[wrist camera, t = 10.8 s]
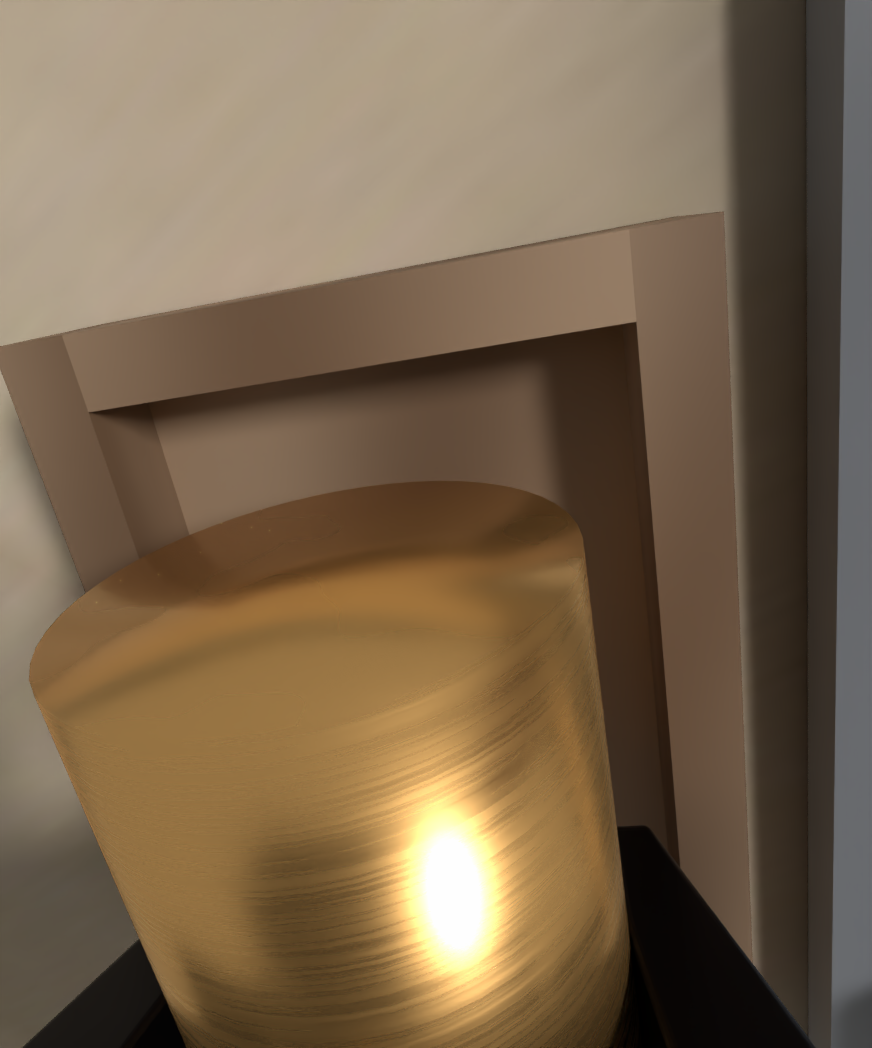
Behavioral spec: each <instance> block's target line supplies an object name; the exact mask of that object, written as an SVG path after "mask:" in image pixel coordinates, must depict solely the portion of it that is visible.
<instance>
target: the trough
mask: <svg viewBox="0 0 872 1048" xmlns="http://www.w3.org/2000/svg"><path fill="white" fill-rule="evenodd" d="M0 370H1V372H2V375H3V378H4V380H5V383H6V385H7V388H8V391H9V393H10V396H11V399H12V401H13V404H14V406H15V409H16V412H17V414H18V417H19V420H20V422H21V425H22V427H23V430H24V433H25V435H26V438H27V441H28V443H29V446H30V448H31V451H32V454H33V456H34V459H35V461H36V464H37V467H38V469H39V472H40V475H41V477H42V480H43V482H44V485H45V488H46V490H47V493H48V496H49V498H50V501H51V503H52V506H53V509H54V511H55V514H56V517H57V519H58V522H59V524H60V527H61V530H62V532H63V535H64V538H65V540H66V543H67V545H68V548H69V551H70V553H71V556H72V559H73V561H74V564H75V566H76V569H77V572H78V574H79V577H80V580H81V582H82V585H83V587H84V590H85V593H87V592H88V591H89V590H91V589H92V588H93V587H95V586H96V585H97V584H99V583H100V582H102V581H103V580H105V579H107V578H108V577H110V576H111V575H113V574H114V573H116V572H117V571H119V570H121V569H122V568H124V567H126V566H128V565H130V564H131V563H133V562H135V561H137V560H138V559H140V558H142V557H144V556H146V555H148V554H150V553H152V552H154V551H156V550H158V549H160V548H162V547H164V546H166V545H168V544H171V543H173V542H175V541H177V540H179V539H182V538H184V537H186V536H188V535H191V534H193V533H196V532H198V531H201V530H203V529H206V528H209V527H211V526H214V525H216V524H219V523H222V522H225V521H228V520H230V519H233V518H236V517H239V516H242V515H245V514H249V513H252V512H255V511H258V510H261V509H265V508H268V507H272V506H276V505H279V504H283V503H287V502H290V501H294V500H299V499H303V498H307V497H311V496H316V495H321V494H326V493H331V492H336V491H341V490H347V489H353V488H360V487H366V486H374V485H382V484H391V483H403V482H416V481H467V482H479V483H489V484H495V485H502V486H508V487H512V488H516V489H520V490H524V491H527V492H530V493H533V494H536V495H539V496H542V497H544V498H546V499H547V500H549V501H551V502H553V503H555V504H557V505H558V506H560V507H561V508H562V509H564V510H565V511H566V512H567V513H569V514H570V516H571V517H572V518H573V519H574V521H575V522H576V523H577V524H578V527H579V529H580V532H581V534H582V537H583V543H584V552H585V560H586V569H587V577H588V586H589V594H590V603H591V611H592V620H593V628H594V637H595V645H596V654H597V662H598V671H599V679H600V688H601V696H602V705H603V713H604V722H605V730H606V739H607V747H608V756H609V764H610V773H611V781H612V790H613V798H614V807H615V815H616V824H617V826H634V825H645V826H647V827H649V828H650V829H651V830H652V831H653V832H654V834H655V835H656V836H657V838H658V839H659V840H660V842H661V843H662V844H663V846H664V847H665V848H666V850H667V851H668V852H669V854H670V855H671V856H672V857H673V859H674V860H675V861H676V863H677V864H678V865H679V867H680V868H681V869H682V871H683V872H684V873H685V875H686V876H687V877H688V879H689V880H690V881H691V883H692V884H693V885H694V887H695V888H696V889H697V891H698V892H699V893H700V895H701V896H702V897H703V899H704V900H705V901H706V902H707V904H708V905H709V906H710V908H711V909H712V910H713V912H714V913H715V914H716V916H717V917H718V918H719V920H720V921H721V922H722V924H723V925H724V926H725V928H726V929H727V930H728V932H729V933H730V934H731V936H732V937H733V938H734V940H735V941H736V942H737V944H738V945H739V946H740V947H741V949H742V950H743V951H744V953H745V954H746V955H747V957H748V958H749V959H750V961H751V962H752V963H753V959H752V933H751V906H750V880H749V854H748V828H747V802H746V776H745V750H744V724H743V698H742V672H741V646H740V619H739V593H738V567H737V541H736V515H735V489H734V463H733V437H732V411H731V385H730V359H729V332H728V306H727V280H726V254H725V228H724V212H715V213H705V214H696V215H686V216H677V217H671V218H666V219H661V220H655V221H650V222H645V223H639V224H634V225H629V226H623V227H618V228H613V229H607V230H602V231H597V232H591V233H586V234H581V235H575V236H570V237H565V238H559V239H554V240H549V241H543V242H538V243H533V244H527V245H522V246H517V247H511V248H506V249H501V250H495V251H490V252H485V253H479V254H474V255H469V256H463V257H458V258H453V259H447V260H442V261H437V262H431V263H426V264H421V265H415V266H410V267H405V268H399V269H394V270H389V271H383V272H378V273H373V274H367V275H362V276H357V277H351V278H346V279H341V280H335V281H330V282H325V283H319V284H314V285H309V286H303V287H298V288H293V289H287V290H282V291H277V292H271V293H266V294H261V295H255V296H250V297H245V298H239V299H234V300H229V301H223V302H218V303H213V304H207V305H202V306H197V307H191V308H186V309H181V310H175V311H170V312H165V313H159V314H154V315H149V316H143V317H138V318H133V319H127V320H122V321H117V322H111V323H106V324H101V325H97V326H92V327H87V328H83V329H78V330H74V331H69V332H64V333H60V334H55V335H50V336H46V337H41V338H37V339H32V340H27V341H23V342H18V343H14V344H9V345H4V346H0Z"/></svg>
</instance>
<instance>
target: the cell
mask: <svg viewBox="0 0 872 1048" xmlns="http://www.w3.org/2000/svg"><path fill="white" fill-rule="evenodd" d="M29 681H30V684H31V687H32V690H33V693H34V696H35V698H36V701H37V703H38V705H39V708H40V710H41V712H42V715H43V717H44V719H45V722H46V724H47V726H48V728H49V731H50V733H51V735H52V738H53V740H54V742H55V745H56V747H57V749H58V752H59V754H60V756H61V759H62V761H63V763H64V765H65V768H66V770H67V772H68V775H69V777H70V779H71V782H72V784H73V786H74V789H75V791H76V793H77V796H78V798H79V800H80V802H81V805H82V807H83V809H84V812H85V814H86V816H87V819H88V821H89V823H90V826H91V828H92V830H93V832H94V835H95V837H96V839H97V842H98V844H99V846H100V849H101V851H102V853H103V856H104V858H105V860H106V863H107V865H108V867H109V869H110V872H111V874H112V876H113V879H114V881H115V883H116V886H117V888H118V890H119V893H120V895H121V897H122V900H123V902H124V904H125V906H126V909H127V911H128V913H129V916H130V918H131V920H132V923H133V925H134V927H135V930H136V932H137V934H138V936H139V939H140V941H141V943H142V946H143V948H144V950H145V953H146V955H147V957H148V960H149V962H150V964H151V967H152V969H153V971H154V973H155V976H156V978H157V980H158V983H159V985H160V987H161V990H162V992H163V994H164V997H165V999H166V1001H167V1004H168V1006H169V1008H170V1010H171V1013H172V1015H173V1017H174V1020H175V1022H176V1024H177V1027H178V1029H179V1031H180V1034H181V1036H182V1038H183V1040H184V1043H185V1045H186V1047H187V1048H642V1040H641V1032H640V1023H639V1015H638V1006H637V998H636V990H635V981H634V973H633V964H632V956H631V947H630V938H629V926H628V917H627V909H626V900H625V892H624V883H623V875H622V866H621V858H620V849H619V841H618V832H617V824H616V815H615V807H614V798H613V790H612V781H611V773H610V764H609V756H608V747H607V739H606V730H605V722H604V713H603V705H602V696H601V688H600V679H599V671H598V662H597V654H596V645H595V637H594V628H593V620H592V611H591V603H590V594H589V586H588V577H587V569H586V560H585V552H584V543H583V537H582V534H581V532H580V529H579V527H578V524H577V523H576V522H575V521H574V519H573V518H572V517H571V516H570V514H569V513H567V512H566V511H565V510H564V509H562V508H561V507H560V506H558V505H557V504H555V503H553V502H551V501H549V500H547V499H546V498H544V497H542V496H539V495H536V494H533V493H530V492H527V491H524V490H520V489H516V488H512V487H508V486H502V485H495V484H489V483H479V482H467V481H416V482H403V483H391V484H382V485H374V486H366V487H360V488H353V489H347V490H341V491H336V492H331V493H326V494H321V495H316V496H311V497H307V498H303V499H299V500H294V501H290V502H287V503H283V504H279V505H276V506H272V507H268V508H265V509H261V510H258V511H255V512H252V513H249V514H245V515H242V516H239V517H236V518H233V519H230V520H228V521H225V522H222V523H219V524H216V525H214V526H211V527H209V528H206V529H203V530H201V531H198V532H196V533H193V534H191V535H188V536H186V537H184V538H182V539H179V540H177V541H175V542H173V543H171V544H168V545H166V546H164V547H162V548H160V549H158V550H156V551H154V552H152V553H150V554H148V555H146V556H144V557H142V558H140V559H138V560H137V561H135V562H133V563H131V564H130V565H128V566H126V567H124V568H122V569H121V570H119V571H117V572H116V573H114V574H113V575H111V576H110V577H108V578H107V579H105V580H103V581H102V582H100V583H99V584H97V585H96V586H95V587H93V588H92V589H91V590H89V591H88V592H87V593H85V594H84V595H83V596H81V597H80V598H79V599H78V600H76V601H75V602H74V603H73V604H72V605H71V606H70V607H69V608H68V609H66V610H65V611H64V612H63V613H62V614H61V615H60V616H59V617H58V618H57V620H56V621H55V622H54V623H53V624H52V625H51V626H50V628H49V629H48V630H47V631H46V633H45V634H44V636H43V637H42V639H41V640H40V642H39V644H38V645H37V647H36V649H35V652H34V654H33V657H32V660H31V663H30V675H29Z"/></svg>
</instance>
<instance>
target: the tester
mask: <svg viewBox="0 0 872 1048" xmlns="http://www.w3.org/2000/svg"><path fill="white" fill-rule="evenodd" d="M806 95H807V580H808V1037H809V1039H810V1040H811V1041H812V1043H813V1044H814V1045H815V1047H816V1048H872V0H806Z"/></svg>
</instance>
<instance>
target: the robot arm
mask: <svg viewBox="0 0 872 1048" xmlns="http://www.w3.org/2000/svg"><path fill="white" fill-rule="evenodd" d="M617 832H618V841H619V849H620V858H621V866H622V875H623V883H624V892H625V900H626V909H627V917H628V926H629V938H630V947H631V956H632V964H633V973H634V981H635V990H636V998H637V1006H638V1015H639V1023H640V1032H641V1040H642V1048H816V1047H815V1045H814V1044H813V1043H812V1041H811V1040H810V1039H809V1037H808V1036H807V1035H806V1033H805V1032H804V1031H803V1030H802V1028H801V1027H800V1026H799V1024H798V1023H797V1022H796V1020H795V1019H794V1018H793V1016H792V1015H791V1014H790V1012H789V1011H788V1010H787V1008H786V1007H785V1006H784V1004H783V1003H782V1002H781V1000H780V999H779V998H778V996H777V995H776V994H775V992H774V991H773V990H772V988H771V987H770V986H769V985H768V983H767V982H766V981H765V979H764V978H763V977H762V975H761V974H760V973H759V971H758V970H757V969H756V967H755V966H754V965H753V963H752V962H751V961H750V959H749V958H748V957H747V955H746V954H745V953H744V951H743V950H742V949H741V947H740V946H739V945H738V944H737V942H736V941H735V940H734V938H733V937H732V936H731V934H730V933H729V932H728V930H727V929H726V928H725V926H724V925H723V924H722V922H721V921H720V920H719V918H718V917H717V916H716V914H715V913H714V912H713V910H712V909H711V908H710V906H709V905H708V904H707V902H706V901H705V900H704V899H703V897H702V896H701V895H700V893H699V892H698V891H697V889H696V888H695V887H694V885H693V884H692V883H691V881H690V880H689V879H688V877H687V876H686V875H685V873H684V872H683V871H682V869H681V868H680V867H679V865H678V864H677V863H676V861H675V860H674V859H673V857H672V856H671V855H670V854H669V852H668V851H667V850H666V848H665V847H664V846H663V844H662V843H661V842H660V840H659V839H658V838H657V836H656V835H655V834H654V832H653V831H652V830H651V829H650V828H649V827H647V826H645V825H634V826H617ZM22 1048H187V1047H186V1045H185V1043H184V1040H183V1038H182V1036H181V1034H180V1031H179V1029H178V1027H177V1024H176V1022H175V1020H174V1017H173V1015H172V1013H171V1010H170V1008H169V1006H168V1004H167V1001H166V999H165V997H164V994H163V992H162V990H161V987H160V985H159V983H158V980H157V978H156V976H155V973H154V971H153V969H152V967H151V964H150V962H149V960H148V957H147V955H146V953H145V950H144V948H143V946H142V943H141V941H140V939H138V940H137V941H136V942H135V943H134V944H133V945H132V946H131V947H130V948H129V949H128V950H126V951H125V952H124V953H123V954H122V955H121V956H120V957H119V958H118V959H117V960H116V961H115V962H114V963H113V964H111V965H110V966H109V967H108V968H107V969H106V970H105V971H104V972H103V973H102V974H101V975H100V976H99V977H98V978H96V979H95V980H94V981H93V982H92V983H91V984H90V985H89V986H88V987H87V988H86V989H85V990H84V991H82V992H81V993H80V994H79V995H78V996H77V997H76V998H75V999H74V1000H73V1001H72V1002H71V1003H70V1004H69V1005H67V1006H66V1007H65V1008H64V1009H63V1010H62V1011H61V1012H60V1013H59V1014H58V1015H57V1016H56V1017H55V1018H54V1019H52V1020H51V1021H50V1022H49V1023H48V1024H47V1025H46V1026H45V1027H44V1028H43V1029H42V1030H41V1031H40V1032H39V1033H37V1034H36V1035H35V1036H34V1037H33V1038H32V1039H31V1040H30V1041H29V1042H28V1043H27V1044H26V1045H25V1046H23V1047H22Z"/></svg>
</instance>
